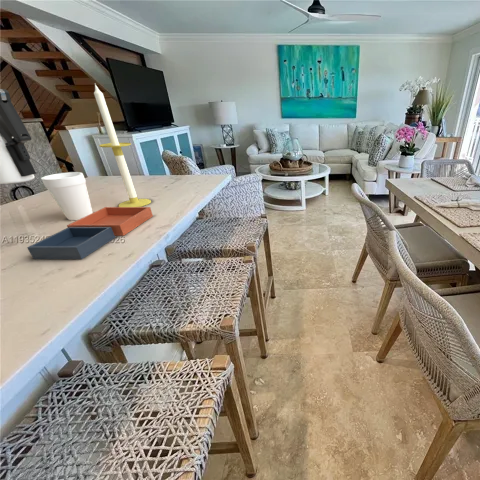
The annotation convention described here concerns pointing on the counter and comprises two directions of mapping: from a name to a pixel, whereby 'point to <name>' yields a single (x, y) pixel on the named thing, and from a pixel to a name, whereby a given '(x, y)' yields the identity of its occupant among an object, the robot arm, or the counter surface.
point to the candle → (118, 154)
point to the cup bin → (115, 219)
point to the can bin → (72, 243)
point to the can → (9, 167)
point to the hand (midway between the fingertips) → (13, 174)
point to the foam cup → (69, 193)
